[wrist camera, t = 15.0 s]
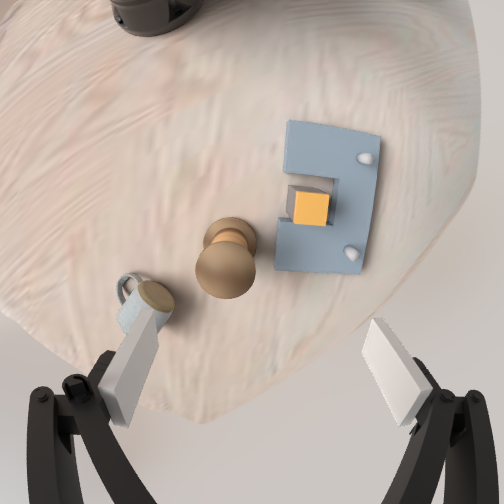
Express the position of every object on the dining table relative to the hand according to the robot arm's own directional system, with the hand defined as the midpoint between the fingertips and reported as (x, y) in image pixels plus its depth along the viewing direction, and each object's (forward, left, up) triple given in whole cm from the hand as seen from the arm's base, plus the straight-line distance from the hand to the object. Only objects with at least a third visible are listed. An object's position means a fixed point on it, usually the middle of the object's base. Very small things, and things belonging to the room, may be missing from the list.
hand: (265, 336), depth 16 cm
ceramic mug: (+14, -18, -29) cm, 36 cm away
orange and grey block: (-4, +7, -28) cm, 29 cm away
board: (-5, +11, -28) cm, 31 cm away
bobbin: (+3, -3, -28) cm, 29 cm away
